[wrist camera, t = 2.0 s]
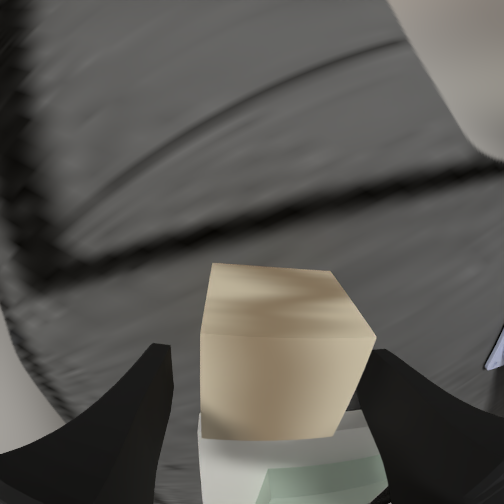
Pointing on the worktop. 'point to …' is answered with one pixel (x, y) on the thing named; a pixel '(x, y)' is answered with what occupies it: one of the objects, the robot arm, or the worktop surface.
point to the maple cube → (278, 353)
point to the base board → (294, 468)
